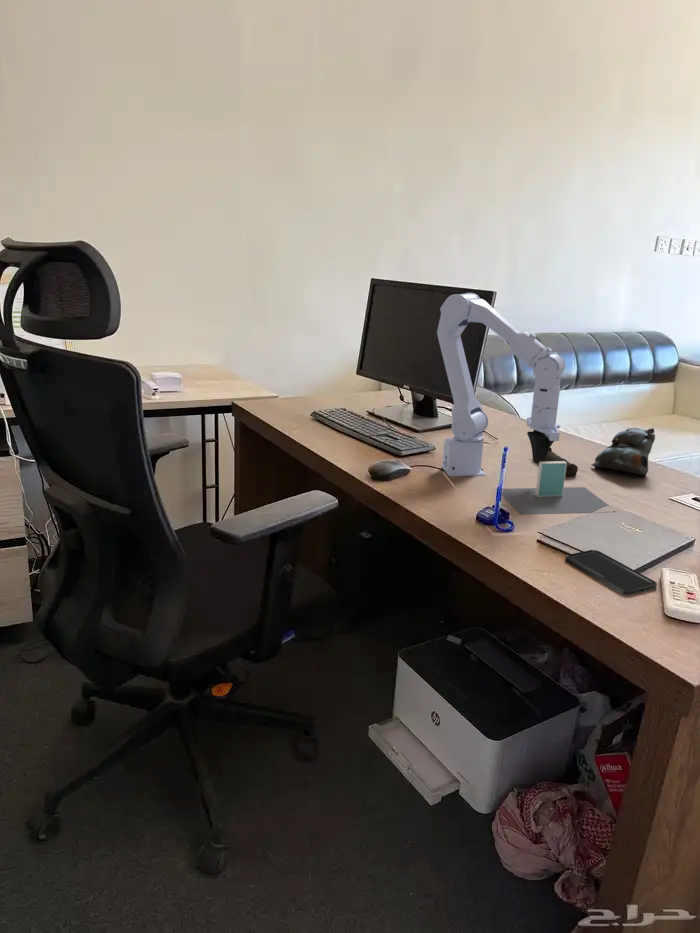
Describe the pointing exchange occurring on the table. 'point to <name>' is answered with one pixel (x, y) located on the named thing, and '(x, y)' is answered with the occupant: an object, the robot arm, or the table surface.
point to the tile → (551, 478)
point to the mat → (553, 501)
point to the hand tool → (570, 468)
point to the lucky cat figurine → (628, 451)
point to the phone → (611, 572)
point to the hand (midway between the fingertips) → (538, 462)
